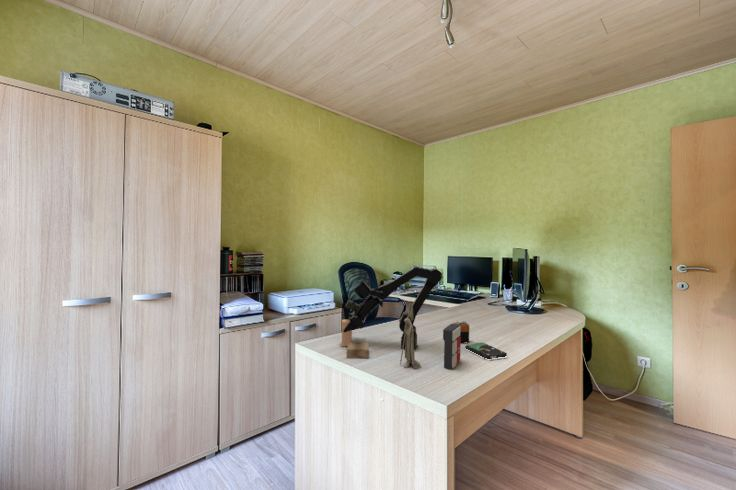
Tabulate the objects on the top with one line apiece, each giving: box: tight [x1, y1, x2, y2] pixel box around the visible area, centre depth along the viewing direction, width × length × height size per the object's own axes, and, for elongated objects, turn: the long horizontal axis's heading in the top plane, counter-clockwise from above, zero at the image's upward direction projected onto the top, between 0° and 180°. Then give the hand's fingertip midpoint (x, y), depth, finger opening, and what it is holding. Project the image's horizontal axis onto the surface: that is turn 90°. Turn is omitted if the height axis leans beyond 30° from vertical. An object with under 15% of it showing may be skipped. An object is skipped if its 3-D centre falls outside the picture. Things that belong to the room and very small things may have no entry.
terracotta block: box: [341, 319, 353, 347], centre depth 142 cm, size 4×4×11 cm
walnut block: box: [346, 341, 370, 360], centre depth 131 cm, size 9×9×4 cm
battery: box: [452, 320, 470, 344], centre depth 151 cm, size 4×7×10 cm, turn 100°
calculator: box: [442, 323, 462, 370], centre depth 122 cm, size 11×4×15 cm, turn 148°
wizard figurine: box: [399, 300, 422, 370], centre depth 121 cm, size 10×8×25 cm
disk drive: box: [464, 342, 508, 359], centre depth 136 cm, size 10×3×15 cm
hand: (343, 330), depth 142 cm, fingers closed on terracotta block, 4 cm apart
